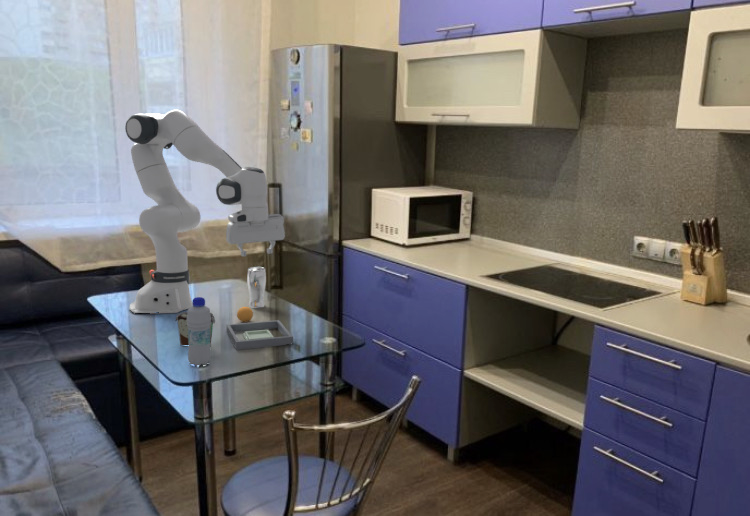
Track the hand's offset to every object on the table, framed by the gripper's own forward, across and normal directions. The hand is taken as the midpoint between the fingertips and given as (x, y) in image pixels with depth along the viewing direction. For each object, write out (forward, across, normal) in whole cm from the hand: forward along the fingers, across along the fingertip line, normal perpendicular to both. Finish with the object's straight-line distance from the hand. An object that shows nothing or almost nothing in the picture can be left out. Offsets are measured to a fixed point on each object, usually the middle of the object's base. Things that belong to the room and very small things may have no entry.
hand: (256, 254), depth 204 cm
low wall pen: (+25, +6, +15) cm, 30 cm away
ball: (+21, +4, -3) cm, 22 cm away
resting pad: (+25, +6, +15) cm, 30 cm away
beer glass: (+24, -6, -20) cm, 32 cm away
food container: (+24, +25, +12) cm, 37 cm away
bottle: (+25, +29, +30) cm, 49 cm away
